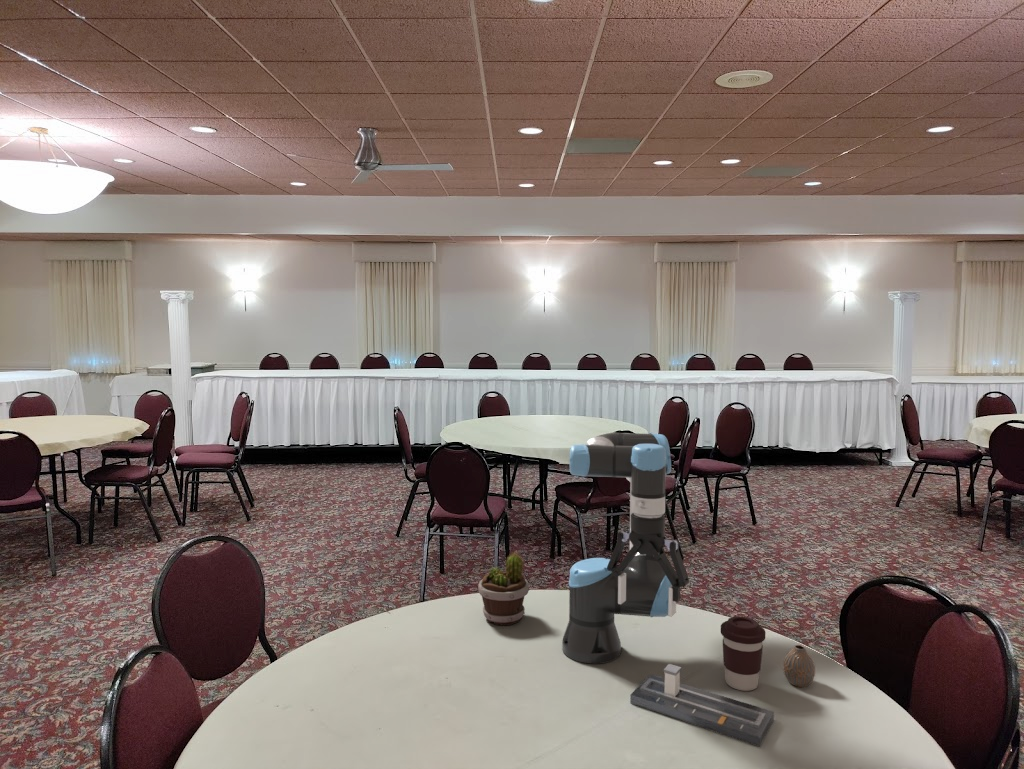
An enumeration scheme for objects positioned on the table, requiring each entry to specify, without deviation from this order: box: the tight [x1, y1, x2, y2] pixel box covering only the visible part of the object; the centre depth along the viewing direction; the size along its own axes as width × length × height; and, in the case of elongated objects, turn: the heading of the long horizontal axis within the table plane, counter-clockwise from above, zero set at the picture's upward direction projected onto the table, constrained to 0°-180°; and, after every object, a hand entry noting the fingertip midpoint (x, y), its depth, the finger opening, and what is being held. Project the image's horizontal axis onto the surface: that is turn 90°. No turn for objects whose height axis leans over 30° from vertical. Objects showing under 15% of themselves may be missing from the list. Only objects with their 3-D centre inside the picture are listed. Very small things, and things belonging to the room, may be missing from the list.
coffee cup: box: [720, 615, 766, 692], centre depth 158 cm, size 10×10×15 cm
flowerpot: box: [477, 549, 531, 626], centre depth 194 cm, size 14×15×20 cm
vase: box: [782, 644, 816, 688], centre depth 159 cm, size 7×7×9 cm
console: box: [629, 673, 775, 747], centre depth 147 cm, size 28×11×3 cm, turn 55°
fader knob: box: [663, 663, 682, 697], centre depth 150 cm, size 3×3×6 cm
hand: (646, 608), depth 153 cm, fingers open, 11 cm apart
